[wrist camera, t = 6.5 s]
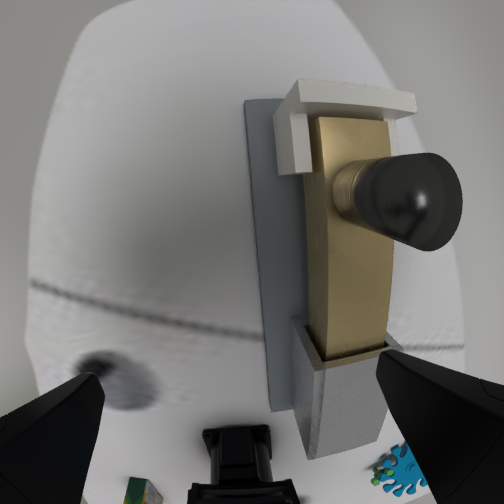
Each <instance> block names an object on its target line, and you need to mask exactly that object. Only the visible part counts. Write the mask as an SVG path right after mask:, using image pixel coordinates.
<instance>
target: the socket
mask: <svg viewBox="0 0 504 504" xmlns="http://www.w3.org/2000/svg"><path fill="white" fill-rule="evenodd" d="M416 113H417V106H416V101H415V95H414V93H409V92H404V91H399V90H394V89H389V88H383V87H377V86H370V85H363V84H355V83H346V82H336V81H322V80H301V79H298V80H297V81H296V82H295V84H294V85H293V87H292V88H291V90H290V91H289V93H288V94H287V96H286V97H285V98H284V100H283V101H282V103H281V104H280V106H279V107H278V109H277V110H276V112H275V113H274V115H273V125H274V135H275V145H276V156H277V167H278V176H281V175H298V174H303V173H308V172H312V160H311V150H310V139H309V130H308V124H310V123H311V122H312V121H314V120H315V119H317V118H318V117H336V118H354V119H367V120H378V121H387V122H388V129H389V138H390V147H391V156H399V155H400V153H399V143H398V134H397V126H396V119H400V118H403V117H406V116H409V115H413V114H416Z"/></svg>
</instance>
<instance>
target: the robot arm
mask: <svg viewBox="0 0 504 504" xmlns="http://www.w3.org/2000/svg"><path fill="white" fill-rule="evenodd" d="M376 378H377V381H378V383H379V386H380V388H381V391H382V393H383V395H384V398H385V400H386V403H387V405H388V408H389V410H390V412H391V414H392V416H393V418H394V420H395V422H396V424H397V426H398V428H399V429H400V431H401V433H402V435H403V437H404V439H405V441H406V442H407V444H408V446H409V448H410V450H411V452H412V454H413V456H414V458H415V460H416V462H417V464H418V466H419V468H420V470H421V472H422V474H423V476H424V478H425V480H426V482H427V484H428V486H429V488H430V490H431V492H432V494H433V496H434V498H435V500H436V502H437V504H504V385H501V384H497V383H493V382H490V381H486V380H483V379H479V378H476V377H473V376H470V375H467V374H464V373H461V372H458V371H455V370H452V369H449V368H446V367H443V366H440V365H437V364H434V363H431V362H428V361H425V360H422V359H419V358H416V357H414V356H411V355H408V354H405V353H402V352H400V351H397V350H394V349H389V350H385V351H382V352H381V353H380V354H379V358H378V363H377V368H376ZM104 401H105V394H104V391H103V388H102V386H101V384H100V381H99V379H98V377H97V375H96V374H95V373H90V372H83V373H82V374H80V375H78V376H76V377H74V378H73V379H71V380H69V381H67V382H65V383H64V384H62V385H60V386H58V387H56V388H54V389H53V390H51V391H49V392H47V393H45V394H43V395H42V396H40V397H38V398H36V399H34V400H32V401H31V402H29V403H27V404H25V405H23V406H21V407H19V408H17V409H16V410H14V411H12V412H10V413H8V415H7V414H6V415H4V416H2V417H0V504H80V502H81V498H82V494H83V489H84V485H85V481H86V477H87V473H88V469H89V465H90V461H91V457H92V454H93V450H94V447H95V443H96V440H97V436H98V431H99V426H100V421H101V415H102V410H103V406H104ZM202 436H203V439H204V442H205V444H206V447H207V450H208V452H209V455H210V457H211V483H210V484H199V483H192V488H191V489H190V490H188V500H187V504H300V502H299V499H298V496H297V494H296V491H295V488H294V485H293V482H292V479H285V480H284V481H275V482H273V477H272V471H271V466H270V460H271V459H272V450H271V438H270V429H269V426H267V425H262V426H254V427H244V428H233V429H217V430H204V431H203V432H202Z"/></svg>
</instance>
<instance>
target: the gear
mask: <svg viewBox="0 0 504 504" xmlns="http://www.w3.org/2000/svg"><path fill="white" fill-rule="evenodd" d="M405 445H406V450H405V452H404V454H403V456H401V457H400V456H399V455H400V453H401V448H400V447H399V446H397V447H395V448H393V449H392V450H391V452H392V454H394V455H395V457H396V464H395V465H393V466H391V461H390V460H389V459H385V460H384V461H383V463H382V464H381V466H382V467H384V469H380V470H378V469H374V470H373V472H374V473H375V474H374V477H375V478H372V479H371V483H372V484H373V485H374V486H377V485H379V483H380V481H381V482H384V481H386V480H389V479H394V480H395V482H394V483H393V484H385V485H383V489H384V491H385V492H386V493H387V492H389V491H390V490H391V489H393V488H394V487H395V486H398V485H400V484H402V486H401V487H400V488H398V489H396V490H394V491H393V494H394V495H395V496H397V497H400V496H401V495H402V492H403V490H404V489H405V488H406V487H407V486H408V485H409V484H412V485H411V486H410V487H409V488H408V489H407V491H406V493H407V494H414V493H415V492H416V484H417V482H418V480H419V479H420V478H422V479H421V481H420V486H422V487H424V486H426V485H427V482H426V480H425V478H424V476H423V474H422V472H421V470H420V468H419V466H418V464H417V462H416V460H415V458H414V456H413V454H412V452H411V451H410V448H409V446H408V444H407V442H406V441H405Z"/></svg>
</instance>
